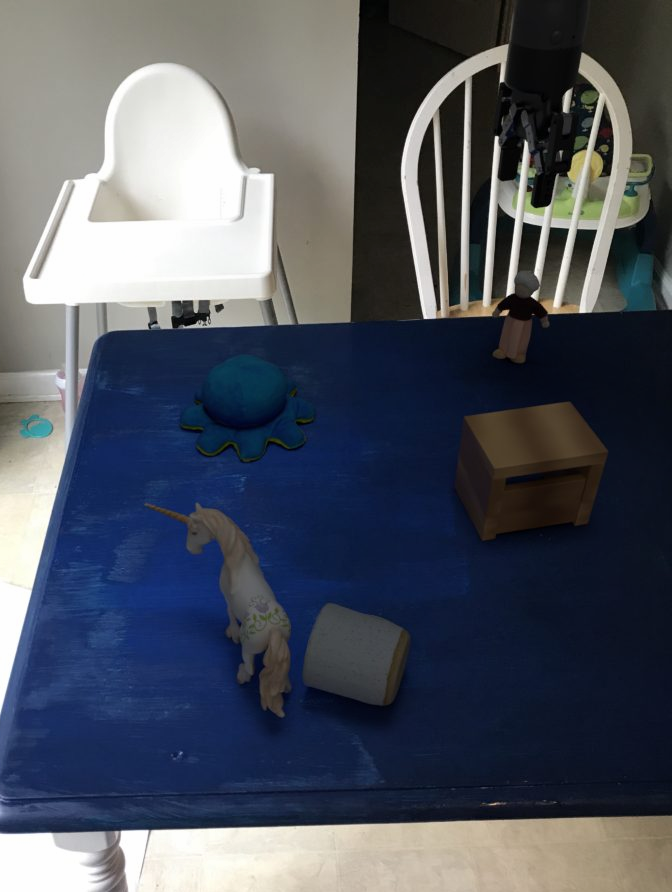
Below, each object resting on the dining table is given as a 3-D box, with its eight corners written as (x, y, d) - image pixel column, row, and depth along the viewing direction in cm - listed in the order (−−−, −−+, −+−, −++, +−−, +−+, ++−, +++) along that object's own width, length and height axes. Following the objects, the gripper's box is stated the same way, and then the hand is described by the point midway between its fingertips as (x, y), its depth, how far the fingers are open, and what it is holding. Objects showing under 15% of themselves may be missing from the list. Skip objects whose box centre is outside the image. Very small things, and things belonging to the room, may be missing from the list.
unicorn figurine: (223, 570, 87) (211, 471, 78) (340, 694, 75) (342, 594, 66) (163, 602, 84) (143, 503, 75) (275, 736, 72) (267, 637, 63)
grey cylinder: (390, 727, 72) (395, 671, 67) (301, 702, 74) (299, 646, 69) (418, 637, 79) (424, 581, 74) (336, 616, 81) (337, 561, 76)
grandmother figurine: (483, 360, 114) (496, 274, 106) (487, 346, 117) (500, 261, 109) (540, 368, 113) (558, 281, 104) (543, 353, 115) (560, 268, 107)
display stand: (553, 472, 96) (570, 401, 90) (588, 524, 90) (608, 451, 83) (454, 487, 95) (463, 416, 88) (482, 541, 88) (494, 468, 82)
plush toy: (163, 452, 102) (153, 395, 96) (206, 376, 114) (199, 322, 108) (295, 469, 98) (293, 411, 93) (325, 390, 110) (325, 334, 105)
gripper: (616, 48, 81) (583, 211, 92) (547, 17, 91) (524, 167, 102) (546, 57, 80) (520, 221, 91) (483, 24, 90) (467, 175, 101)
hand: (522, 192), depth 97 cm, fingers open, 8 cm apart
